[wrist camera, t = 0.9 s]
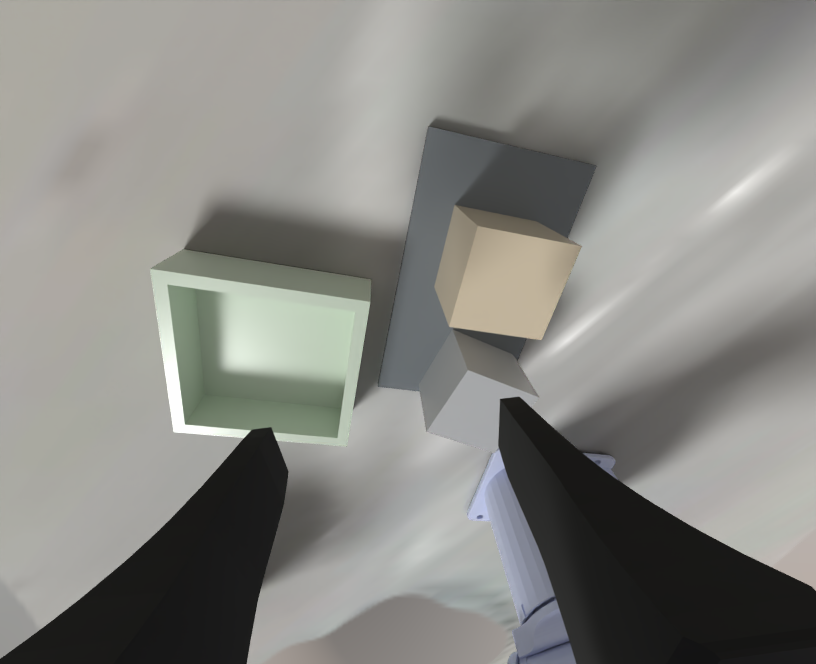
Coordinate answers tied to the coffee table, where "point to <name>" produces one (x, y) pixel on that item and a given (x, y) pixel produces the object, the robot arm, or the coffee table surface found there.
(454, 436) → the matte grey cube
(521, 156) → the slate mat
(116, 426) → the coffee table surface
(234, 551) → the robot arm
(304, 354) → the green bin
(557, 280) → the tan wooden cube
